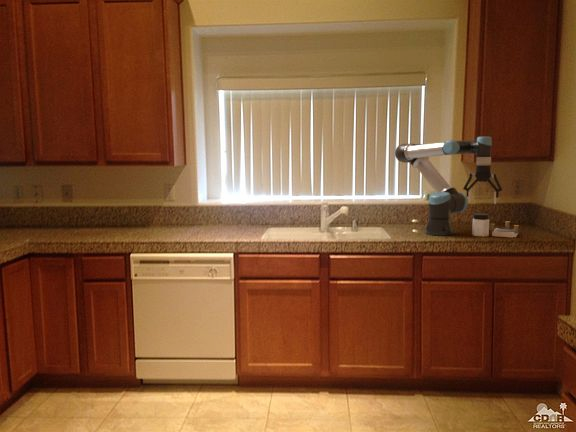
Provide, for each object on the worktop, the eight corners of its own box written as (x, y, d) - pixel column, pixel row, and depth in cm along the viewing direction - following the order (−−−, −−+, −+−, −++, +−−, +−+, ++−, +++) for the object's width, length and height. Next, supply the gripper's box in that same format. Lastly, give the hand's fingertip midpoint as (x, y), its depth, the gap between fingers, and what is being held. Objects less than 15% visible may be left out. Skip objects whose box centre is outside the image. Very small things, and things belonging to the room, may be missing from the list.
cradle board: (489, 235, 282) (489, 224, 281) (493, 231, 295) (494, 220, 294) (517, 237, 275) (518, 226, 274) (521, 233, 288) (521, 222, 287)
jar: (470, 235, 283) (471, 214, 281) (473, 233, 290) (474, 212, 288) (486, 237, 278) (487, 215, 276) (490, 234, 285) (491, 213, 283)
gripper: (458, 164, 281) (457, 202, 284) (507, 165, 269) (505, 204, 272) (461, 164, 288) (460, 201, 291) (508, 164, 275) (507, 203, 278)
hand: (482, 203), depth 281 cm, fingers open, 13 cm apart
